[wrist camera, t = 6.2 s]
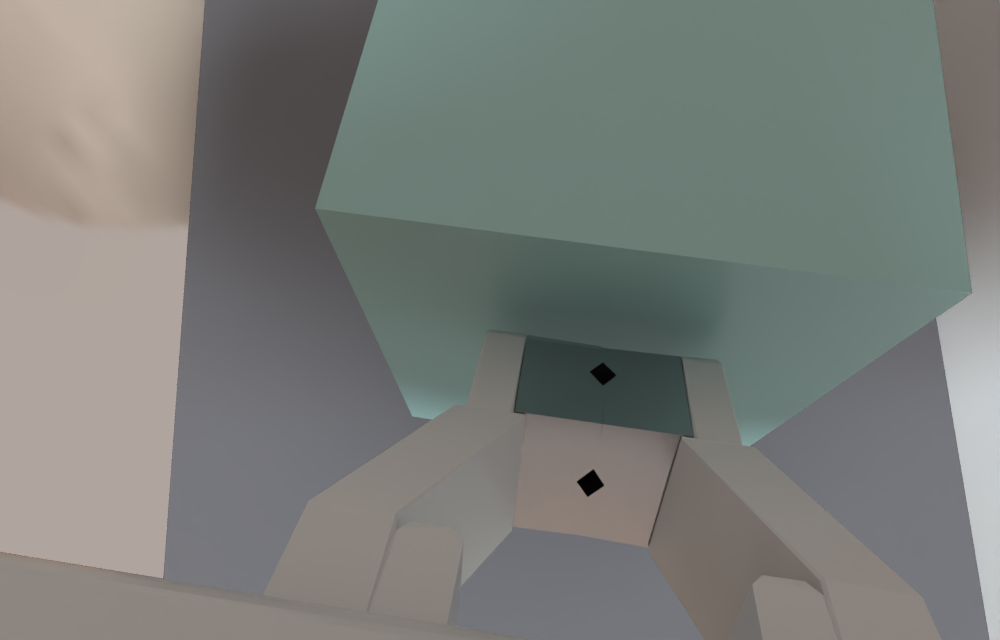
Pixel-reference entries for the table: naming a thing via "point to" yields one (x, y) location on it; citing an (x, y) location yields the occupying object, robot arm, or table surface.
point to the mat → (387, 419)
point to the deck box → (649, 187)
